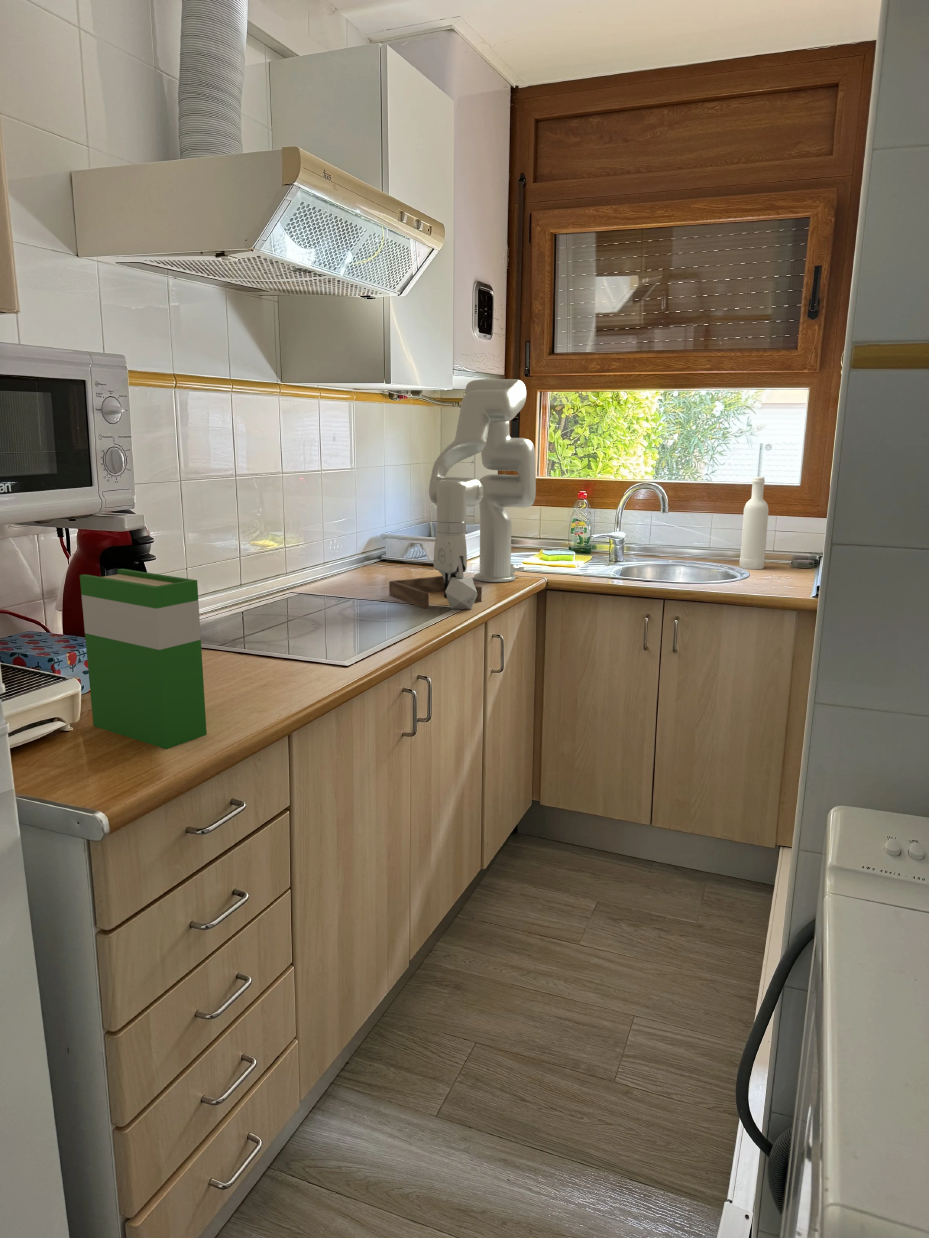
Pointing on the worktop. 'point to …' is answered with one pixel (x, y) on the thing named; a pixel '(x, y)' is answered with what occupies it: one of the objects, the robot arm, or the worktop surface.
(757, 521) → the bottle
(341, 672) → the worktop surface
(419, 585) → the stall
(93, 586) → the hardback book
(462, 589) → the die
